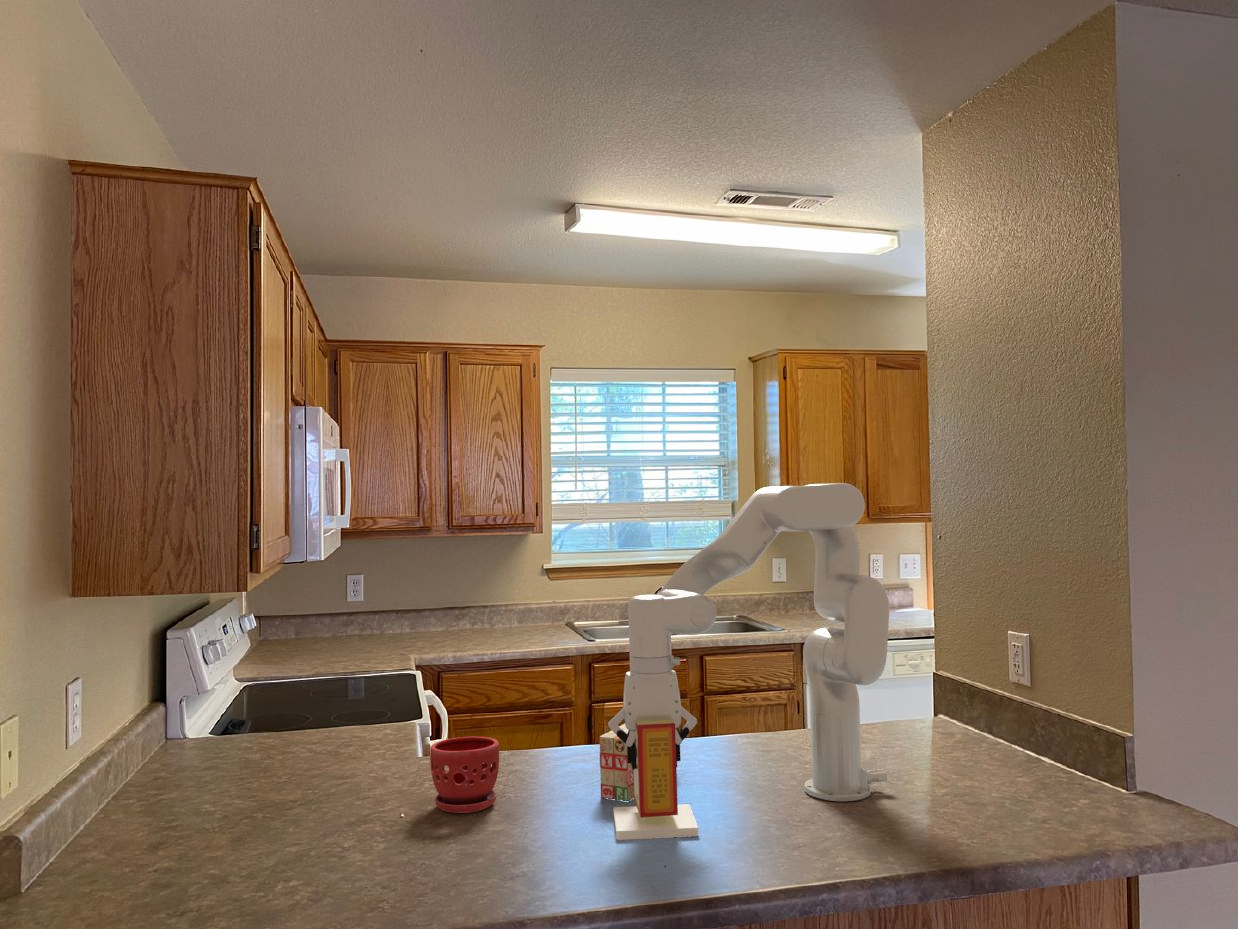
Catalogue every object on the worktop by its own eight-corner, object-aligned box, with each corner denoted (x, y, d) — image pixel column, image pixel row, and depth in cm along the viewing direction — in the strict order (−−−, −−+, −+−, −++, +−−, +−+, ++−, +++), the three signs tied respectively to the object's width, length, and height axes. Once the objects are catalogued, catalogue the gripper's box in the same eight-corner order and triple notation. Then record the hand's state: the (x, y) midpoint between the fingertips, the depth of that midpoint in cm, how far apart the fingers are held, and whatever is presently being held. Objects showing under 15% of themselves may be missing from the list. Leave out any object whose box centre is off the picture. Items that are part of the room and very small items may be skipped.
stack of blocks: (648, 769, 193) (647, 711, 194) (675, 773, 190) (673, 714, 191) (600, 799, 174) (598, 735, 175) (628, 804, 171) (627, 738, 172)
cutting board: (689, 812, 165) (689, 804, 165) (698, 836, 153) (698, 827, 153) (613, 815, 165) (613, 807, 165) (616, 840, 153) (616, 831, 153)
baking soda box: (633, 799, 163) (631, 710, 164) (669, 797, 164) (666, 708, 165) (640, 817, 154) (637, 723, 155) (677, 815, 155) (674, 721, 155)
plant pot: (514, 804, 172) (513, 740, 173) (458, 823, 163) (457, 756, 163) (472, 790, 181) (471, 730, 182) (417, 807, 172) (416, 744, 172)
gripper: (696, 659, 164) (699, 758, 164) (601, 663, 163) (604, 762, 163) (702, 667, 157) (705, 770, 156) (602, 671, 156) (605, 775, 155)
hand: (653, 765), depth 159 cm, fingers closed on baking soda box, 6 cm apart
